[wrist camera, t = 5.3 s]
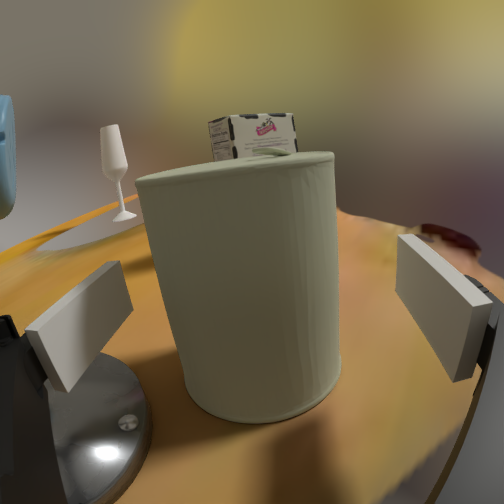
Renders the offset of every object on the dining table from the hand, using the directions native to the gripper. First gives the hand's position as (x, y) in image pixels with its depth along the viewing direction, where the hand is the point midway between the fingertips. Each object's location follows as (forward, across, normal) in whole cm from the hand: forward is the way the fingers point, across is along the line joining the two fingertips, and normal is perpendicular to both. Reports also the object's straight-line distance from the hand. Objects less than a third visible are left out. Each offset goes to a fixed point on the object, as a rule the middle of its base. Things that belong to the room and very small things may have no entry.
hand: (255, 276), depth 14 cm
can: (+2, 0, -7) cm, 7 cm away
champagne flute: (+59, -39, -7) cm, 71 cm away
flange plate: (-6, -12, -6) cm, 15 cm away
